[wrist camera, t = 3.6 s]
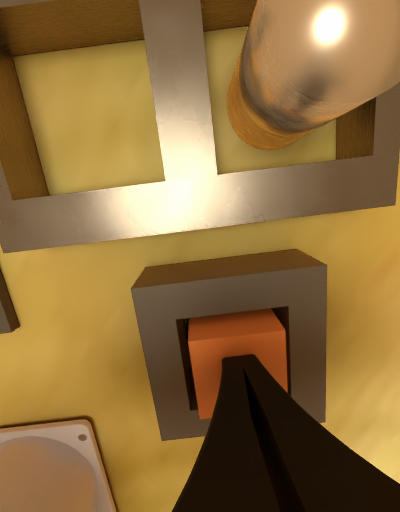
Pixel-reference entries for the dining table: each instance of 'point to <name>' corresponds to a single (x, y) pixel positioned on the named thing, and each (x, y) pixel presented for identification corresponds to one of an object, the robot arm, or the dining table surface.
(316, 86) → the light bulb
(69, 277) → the dining table surface
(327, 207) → the grey flat rectangular frame
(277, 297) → the button housing
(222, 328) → the button
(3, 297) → the rubber mat
